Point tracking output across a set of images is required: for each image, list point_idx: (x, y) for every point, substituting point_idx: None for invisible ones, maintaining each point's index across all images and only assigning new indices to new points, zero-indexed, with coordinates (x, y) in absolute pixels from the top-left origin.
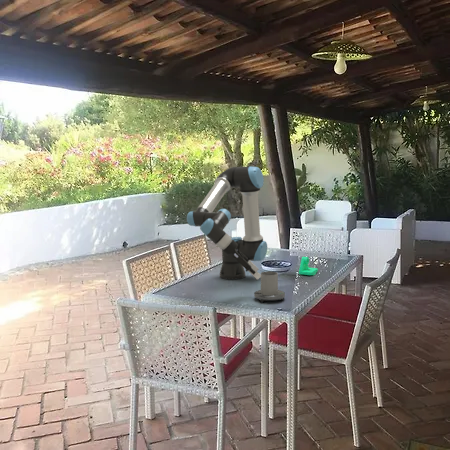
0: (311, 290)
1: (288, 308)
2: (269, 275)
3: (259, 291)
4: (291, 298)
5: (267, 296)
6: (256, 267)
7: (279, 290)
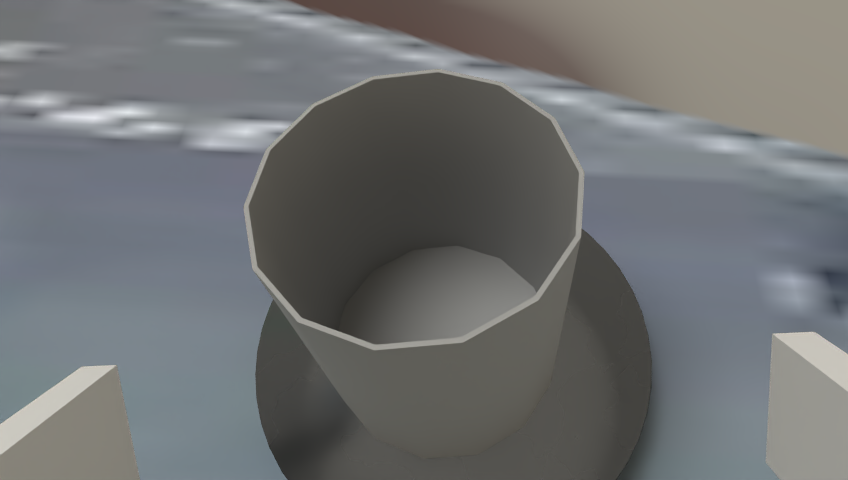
0: (225, 30)
1: (780, 209)
2: (582, 189)
3: (344, 473)
4: None
5: (600, 377)
6: (72, 410)
7: None
